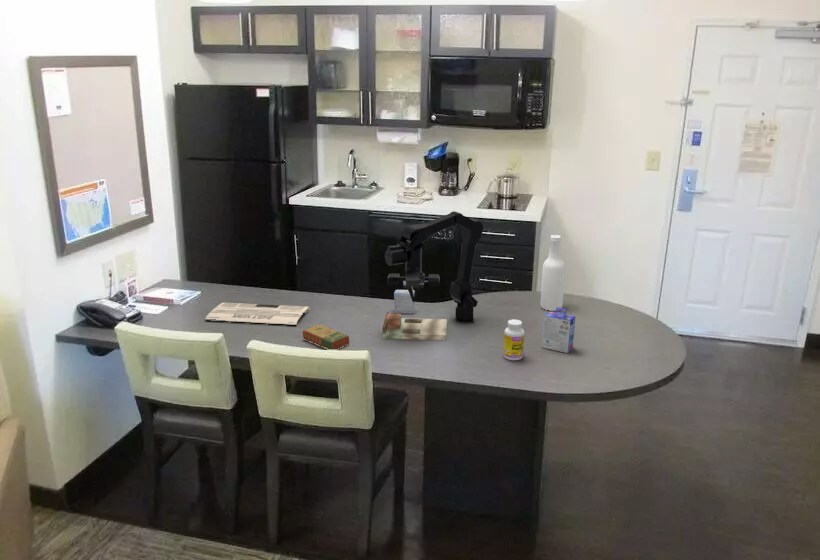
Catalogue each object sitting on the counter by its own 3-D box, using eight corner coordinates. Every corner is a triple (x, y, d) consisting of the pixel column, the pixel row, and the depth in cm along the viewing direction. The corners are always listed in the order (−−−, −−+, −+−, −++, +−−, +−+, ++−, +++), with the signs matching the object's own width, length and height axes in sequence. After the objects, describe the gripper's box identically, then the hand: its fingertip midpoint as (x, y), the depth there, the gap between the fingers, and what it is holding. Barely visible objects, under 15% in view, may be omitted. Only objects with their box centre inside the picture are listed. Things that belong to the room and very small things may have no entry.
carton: (320, 334, 249) (319, 323, 248) (350, 345, 239) (349, 334, 237) (302, 340, 243) (302, 329, 242) (332, 353, 233) (332, 341, 231)
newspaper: (310, 311, 271) (309, 304, 270) (295, 329, 253) (294, 322, 252) (224, 306, 277) (223, 300, 276) (203, 324, 259) (202, 318, 258)
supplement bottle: (509, 362, 224) (511, 327, 220) (499, 354, 229) (501, 320, 225) (526, 358, 226) (528, 323, 222) (516, 351, 232) (518, 317, 228)
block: (401, 323, 251) (401, 313, 250) (400, 328, 247) (400, 318, 245) (388, 323, 252) (387, 313, 250) (386, 328, 247) (386, 318, 246)
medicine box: (415, 310, 270) (414, 289, 267) (414, 314, 266) (413, 293, 263) (395, 309, 271) (395, 289, 268) (394, 313, 267) (393, 293, 264)
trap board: (446, 324, 256) (446, 313, 254) (446, 340, 242) (446, 328, 240) (386, 322, 257) (386, 312, 256) (382, 338, 243) (382, 327, 242)
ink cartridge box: (573, 348, 234) (576, 309, 229) (568, 354, 230) (571, 314, 225) (546, 342, 239) (549, 304, 234) (541, 347, 235) (543, 309, 230)
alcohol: (539, 303, 276) (543, 232, 266) (561, 304, 275) (566, 233, 265) (540, 311, 267) (544, 238, 258) (563, 312, 266) (568, 239, 257)
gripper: (385, 267, 234) (386, 309, 239) (439, 268, 232) (438, 310, 237) (388, 258, 244) (389, 298, 249) (439, 259, 243) (439, 299, 248)
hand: (413, 301), depth 246 cm, fingers closed
